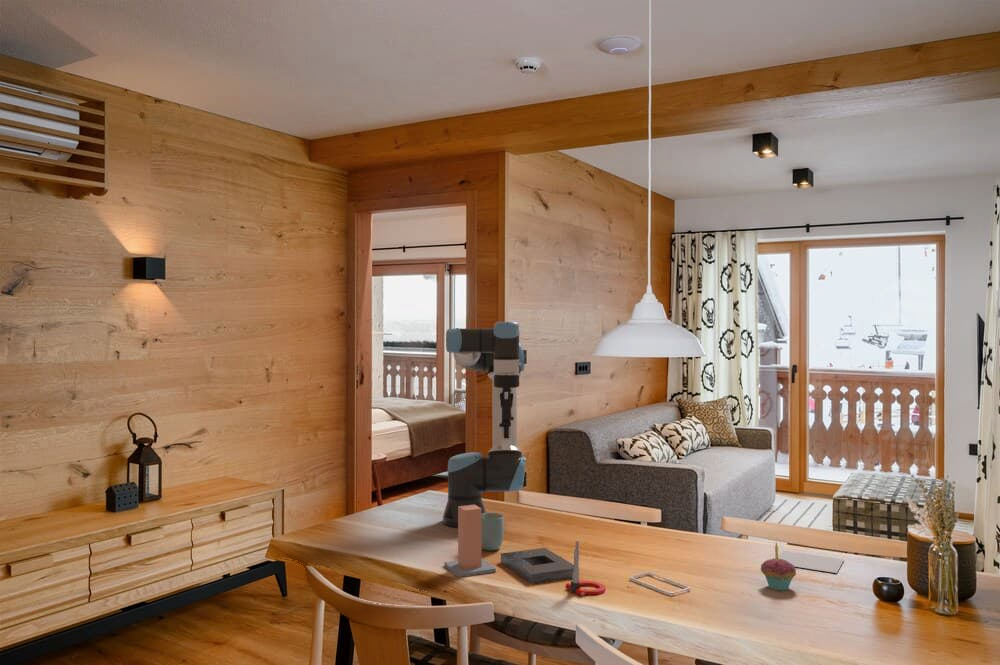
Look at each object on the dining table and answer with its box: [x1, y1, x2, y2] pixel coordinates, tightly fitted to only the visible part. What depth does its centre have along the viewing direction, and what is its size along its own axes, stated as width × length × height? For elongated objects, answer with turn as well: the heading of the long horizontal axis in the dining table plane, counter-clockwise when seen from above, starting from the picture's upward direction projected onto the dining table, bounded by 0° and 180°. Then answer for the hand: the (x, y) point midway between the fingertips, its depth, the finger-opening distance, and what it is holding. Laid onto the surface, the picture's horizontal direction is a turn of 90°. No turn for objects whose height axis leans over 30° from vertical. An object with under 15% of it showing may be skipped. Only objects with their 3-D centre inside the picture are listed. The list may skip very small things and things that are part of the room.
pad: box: [443, 558, 497, 578], centre depth 209 cm, size 11×11×1 cm
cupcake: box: [760, 542, 797, 591], centre depth 194 cm, size 9×8×12 cm
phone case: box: [629, 571, 691, 597], centre depth 196 cm, size 7×1×15 cm
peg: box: [457, 505, 483, 569], centre depth 209 cm, size 5×5×16 cm
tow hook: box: [564, 540, 606, 597], centre depth 193 cm, size 8×13×9 cm
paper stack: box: [778, 550, 860, 574], centre depth 216 cm, size 23×25×1 cm
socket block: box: [500, 547, 580, 584], centre depth 209 cm, size 20×14×2 cm
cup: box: [482, 512, 505, 552], centre depth 228 cm, size 8×8×10 cm
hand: (506, 445), depth 224 cm, fingers open, 13 cm apart
